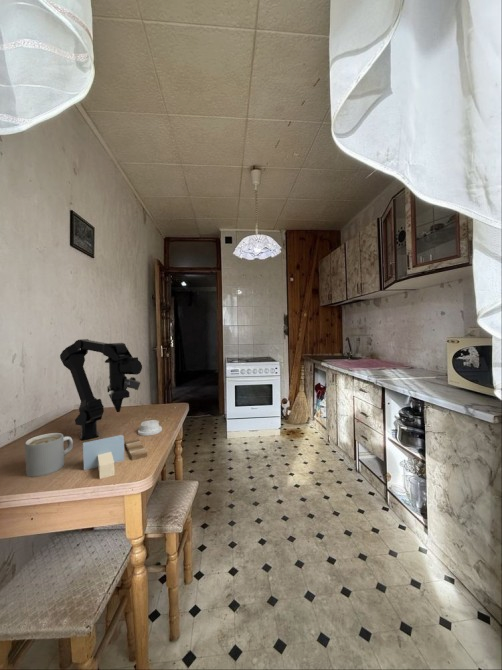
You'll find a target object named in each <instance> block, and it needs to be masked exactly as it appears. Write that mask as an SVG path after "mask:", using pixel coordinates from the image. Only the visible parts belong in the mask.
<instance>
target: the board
mask: <svg viewBox="0 0 502 670" xmlns="http://www.w3.org/2000/svg"><path fill="white" fill-rule="evenodd" d="M124 446H125V447H126V450H127V451H128V455H129V457H130V459H131V461H134V460H138V459H142V458H146V457H148V453H147V450H146V448H145V447H144V446H143V444H142V442H141V441H140V439H139V438H134V439H129V440H124Z"/></svg>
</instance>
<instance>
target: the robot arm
mask: <svg viewBox="0 0 502 670" xmlns="http://www.w3.org/2000/svg"><path fill="white" fill-rule="evenodd" d="M89 351H91V352H97V353H101V354H102V355H103V356H105V357H107V359H106V360H104V363H105V364H108V367H109V368H108V373H109V375H108V379H109V380H108V381H109V385H108V386H107V387H106V391H107V393H110V394H108V396H109V399H110V402H111V403H112V404H113V407H114V409H115V411H116V412H117V413H120V412H121V409H122V403H123V400H124V399H129V398H130V391H129V390H128V389H133V390H136V391H139V389H140V385H141V381H139V380H136V379H137V378H136V377H134V376H133V375H139V374H140V373H141V372H142V370H143V365H142V362H141V361H140V360H139V357H137V356H136V357H133V355H132V354H131V352H130V351H129V348H128V347H127V345H126V343H124V342H109V343H107V342H103V341H97V340H96V341H95V340H90V339H86V338H84V339H83V338H82V339H77V340H75V341H74V343H72V344H71V345H68V346H67V347H65V349H63V350H62V351H61V353H60V355H59V358H60V361H61V363H62V365H63V366H64V367H65V369H68V370H69V371H70V374H71V378H72V379H73V383H74V386H75V389H76V392H77V394H78V397H79V399H80V404H79V407H78V411H79V414H78V415H77V417H76V418H75V419H74V423H75V425H76V426H80V427H81V428H80V431H81V434H80V437H79V438H80V441H84V440H89V439H94V438H98V437H99V431H98V421H101V420H102V418H103V415H104V412H105V410H104V407H105V406H104V405H103V402H102V399H101V398H98V399H97V398H96V397H95V395H94V393H93V390H92V387H91V383H90V382H89V381H90V380H89V379H88V377H87V374H86V371H85V368H84V365H85V361H86V355H87V354H88V353H89ZM126 375H132V376H130V378H128V377H127V376H126Z"/></svg>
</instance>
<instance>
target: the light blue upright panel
mask: <svg viewBox="0 0 502 670" xmlns="http://www.w3.org/2000/svg"><path fill="white" fill-rule="evenodd" d="M82 449H83V450H82V451H83V452H82V453H83V456H82V457H83V458H82V459H83V470H84V471H86V470H90V469H94V468H98V475H99V479H100V480H101V479H105V478H110V477H113V476H116V474H115V473H116V472H115V463H118V462H119V463H120V462H123V461H125V436H124V435H123V434H120V435H115V436H114V435H113V436H110V437H109V436H108V437H105V438H100V439H95V440H91V441H85V442H83V443H82Z"/></svg>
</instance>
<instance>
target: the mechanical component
mask: <svg viewBox="0 0 502 670" xmlns="http://www.w3.org/2000/svg"><path fill="white" fill-rule="evenodd" d="M159 423H160V422H159V420H156V419H150V420H148V419H147V420H145V421H142V422H141V423H140V427H139V428H138V430H137V434H138V436H145V437H149V436H153V435H157V434H160V433H161V432H162V430H163V427H162V426H161V425H160V424H159Z"/></svg>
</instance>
